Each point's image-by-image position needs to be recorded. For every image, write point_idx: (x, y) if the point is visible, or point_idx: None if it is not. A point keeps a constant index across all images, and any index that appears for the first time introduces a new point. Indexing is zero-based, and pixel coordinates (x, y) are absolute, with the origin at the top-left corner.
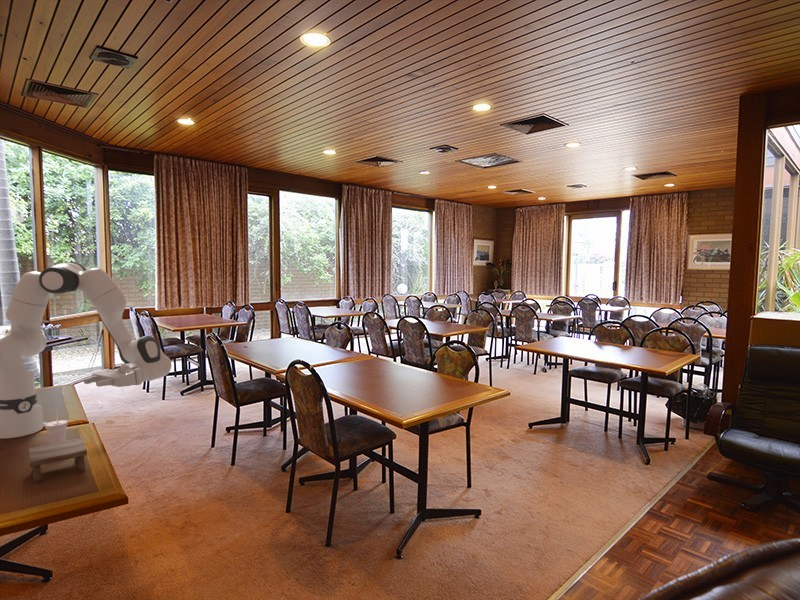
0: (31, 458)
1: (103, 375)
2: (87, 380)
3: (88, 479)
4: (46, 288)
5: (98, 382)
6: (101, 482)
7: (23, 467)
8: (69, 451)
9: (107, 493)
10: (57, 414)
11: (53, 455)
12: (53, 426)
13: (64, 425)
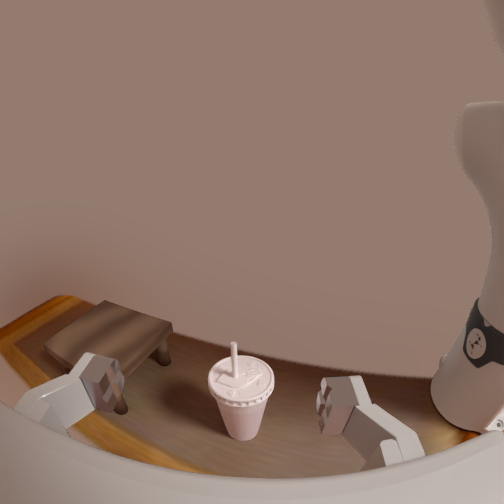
0: (114, 305)
1: (214, 476)
2: (324, 392)
3: (43, 361)
4: None
5: (87, 354)
6: (20, 358)
7: (201, 359)
8: (70, 333)
9: (2, 341)
10: (231, 353)
11: (86, 319)
12: (217, 363)
13: (211, 389)
